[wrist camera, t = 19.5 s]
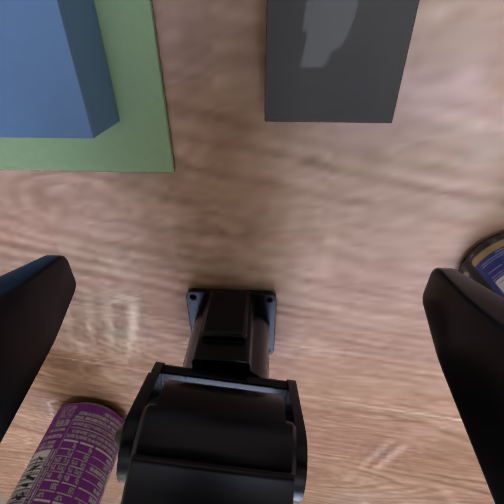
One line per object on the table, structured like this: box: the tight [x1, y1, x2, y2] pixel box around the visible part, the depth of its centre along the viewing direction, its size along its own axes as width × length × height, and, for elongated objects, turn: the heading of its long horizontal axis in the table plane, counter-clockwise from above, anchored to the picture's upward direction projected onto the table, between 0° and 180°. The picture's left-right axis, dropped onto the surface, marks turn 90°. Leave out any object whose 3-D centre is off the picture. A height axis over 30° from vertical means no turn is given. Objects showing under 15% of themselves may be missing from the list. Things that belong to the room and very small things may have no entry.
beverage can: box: [7, 402, 124, 504], centre depth 31 cm, size 7×7×12 cm
